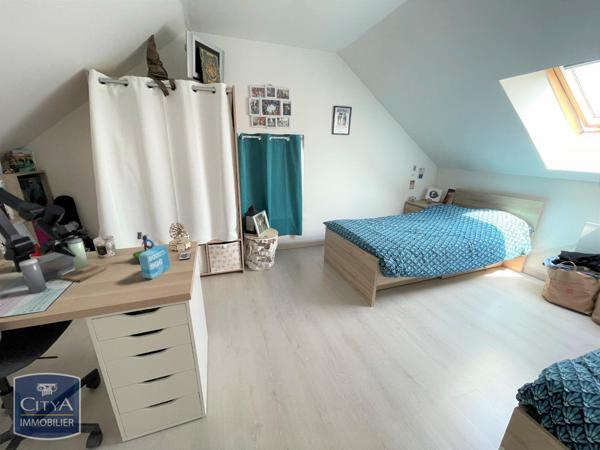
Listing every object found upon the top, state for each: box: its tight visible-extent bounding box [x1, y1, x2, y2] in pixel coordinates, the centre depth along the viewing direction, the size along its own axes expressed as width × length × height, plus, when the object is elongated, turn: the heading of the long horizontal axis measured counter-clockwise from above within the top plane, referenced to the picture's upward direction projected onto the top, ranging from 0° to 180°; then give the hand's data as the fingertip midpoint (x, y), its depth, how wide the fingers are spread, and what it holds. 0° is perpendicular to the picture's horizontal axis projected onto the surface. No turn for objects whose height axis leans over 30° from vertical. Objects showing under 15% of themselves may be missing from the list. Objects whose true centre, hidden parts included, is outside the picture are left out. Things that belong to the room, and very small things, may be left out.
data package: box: [138, 245, 171, 280], centre depth 114 cm, size 12×4×12 cm, turn 167°
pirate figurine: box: [132, 231, 155, 260], centre depth 128 cm, size 14×13×15 cm
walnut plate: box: [58, 264, 108, 283], centre depth 114 cm, size 12×12×1 cm
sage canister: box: [66, 238, 90, 270], centre depth 111 cm, size 5×5×13 cm
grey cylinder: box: [19, 258, 48, 295], centre depth 99 cm, size 5×5×13 cm
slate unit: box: [35, 247, 75, 282], centre depth 115 cm, size 9×20×8 cm, turn 167°
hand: (80, 253), depth 111 cm, fingers closed on sage canister, 5 cm apart
